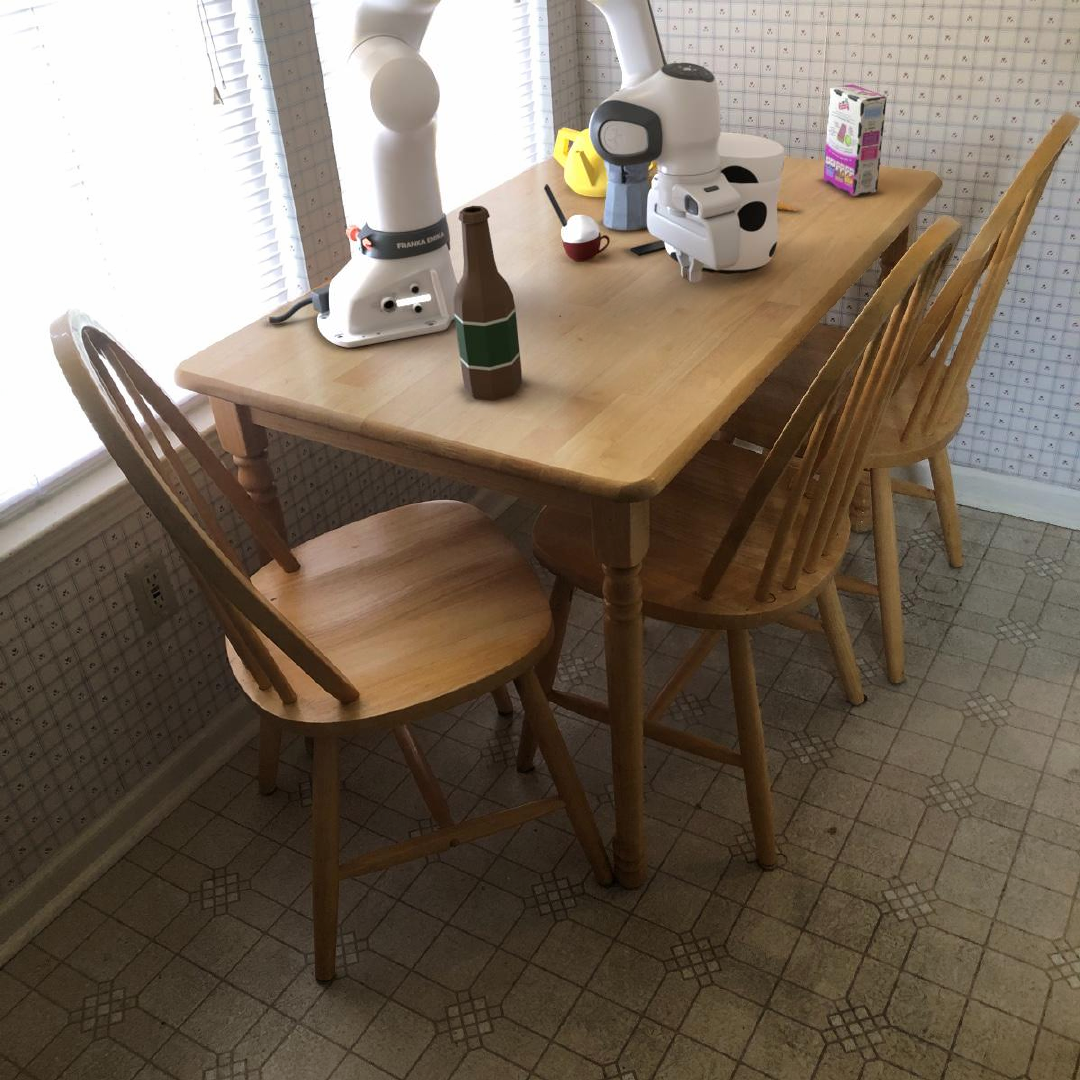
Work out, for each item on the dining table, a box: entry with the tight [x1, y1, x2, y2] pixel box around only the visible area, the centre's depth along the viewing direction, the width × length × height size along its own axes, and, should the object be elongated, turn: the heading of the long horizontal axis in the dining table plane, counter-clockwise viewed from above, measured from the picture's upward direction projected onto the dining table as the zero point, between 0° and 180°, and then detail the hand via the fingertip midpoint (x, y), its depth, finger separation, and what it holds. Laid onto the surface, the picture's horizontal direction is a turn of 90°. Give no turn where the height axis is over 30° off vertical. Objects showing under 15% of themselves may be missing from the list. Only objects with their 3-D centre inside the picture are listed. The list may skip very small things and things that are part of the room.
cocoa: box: [543, 183, 611, 262], centre depth 180 cm, size 10×6×12 cm, turn 55°
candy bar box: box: [822, 84, 888, 197], centre depth 196 cm, size 11×5×16 cm, turn 17°
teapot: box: [552, 126, 657, 198], centre depth 209 cm, size 17×17×12 cm
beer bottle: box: [454, 205, 523, 402], centre depth 141 cm, size 8×8×24 cm
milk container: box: [665, 131, 785, 275], centre depth 170 cm, size 17×17×18 cm
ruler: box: [629, 239, 666, 257], centre depth 187 cm, size 26×3×1 cm, turn 116°
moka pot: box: [602, 160, 652, 232], centre depth 188 cm, size 10×15×20 cm, turn 174°
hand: (691, 279), depth 166 cm, fingers closed
